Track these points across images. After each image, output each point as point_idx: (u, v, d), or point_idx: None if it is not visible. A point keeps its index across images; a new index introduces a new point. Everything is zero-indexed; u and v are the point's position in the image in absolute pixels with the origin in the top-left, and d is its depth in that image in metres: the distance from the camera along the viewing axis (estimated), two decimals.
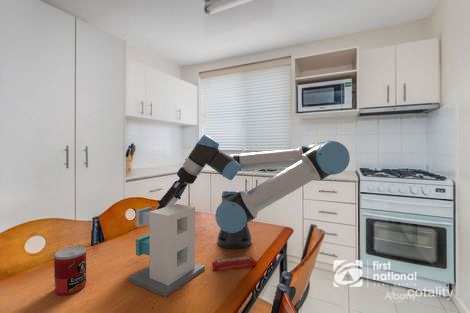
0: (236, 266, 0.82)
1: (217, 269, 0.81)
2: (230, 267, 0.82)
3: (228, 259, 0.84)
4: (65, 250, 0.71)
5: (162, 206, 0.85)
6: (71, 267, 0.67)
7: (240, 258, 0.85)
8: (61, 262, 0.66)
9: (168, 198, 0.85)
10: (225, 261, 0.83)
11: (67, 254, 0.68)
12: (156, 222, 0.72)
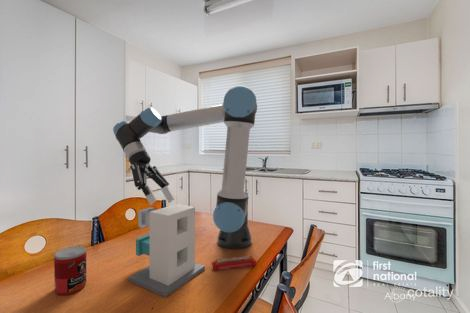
0: (236, 266, 0.83)
1: (217, 269, 0.81)
2: (230, 267, 0.82)
3: (228, 259, 0.84)
4: (65, 250, 0.71)
5: (142, 185, 0.83)
6: (71, 267, 0.67)
7: (240, 258, 0.85)
8: (61, 262, 0.66)
9: (137, 176, 0.83)
10: (225, 261, 0.83)
11: (67, 254, 0.68)
12: (156, 222, 0.72)
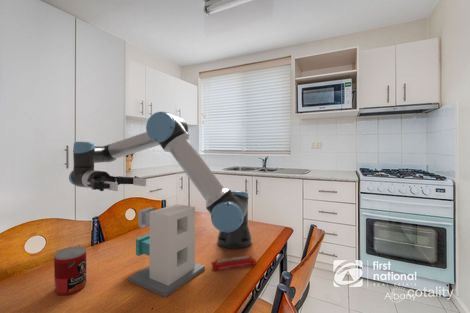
0: (236, 265, 0.83)
1: (217, 269, 0.81)
2: (230, 267, 0.82)
3: (228, 259, 0.84)
4: (65, 250, 0.71)
5: (100, 184, 0.83)
6: (71, 267, 0.67)
7: (240, 257, 0.85)
8: (61, 262, 0.66)
9: (92, 182, 0.84)
10: (224, 261, 0.83)
11: (67, 254, 0.68)
12: (156, 222, 0.72)
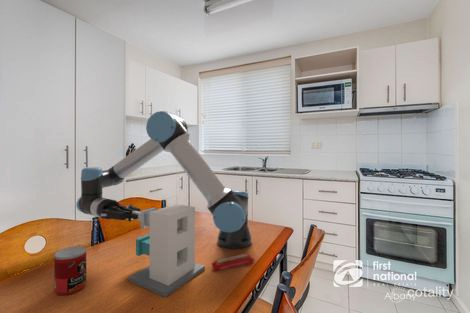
0: (236, 264, 0.84)
1: (218, 269, 0.81)
2: (230, 266, 0.83)
3: (227, 258, 0.84)
4: (65, 250, 0.71)
5: (128, 214, 0.84)
6: (71, 267, 0.67)
7: (238, 256, 0.86)
8: (61, 262, 0.66)
9: (116, 214, 0.84)
10: (224, 260, 0.83)
11: (67, 254, 0.68)
12: (156, 222, 0.72)
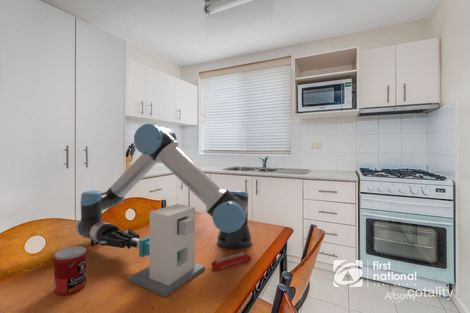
0: (234, 263, 0.85)
1: (218, 268, 0.81)
2: (229, 265, 0.83)
3: (226, 257, 0.85)
4: (65, 250, 0.71)
5: (127, 242, 0.85)
6: (71, 267, 0.67)
7: (236, 255, 0.87)
8: (61, 262, 0.66)
9: (115, 241, 0.84)
10: (223, 259, 0.84)
11: (67, 254, 0.68)
12: (156, 222, 0.72)
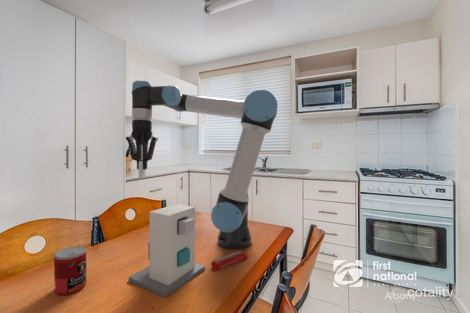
0: (233, 262, 0.86)
1: (218, 268, 0.81)
2: (228, 264, 0.84)
3: (224, 257, 0.86)
4: (65, 250, 0.71)
5: None
6: (71, 267, 0.67)
7: (234, 253, 0.88)
8: (61, 262, 0.66)
9: None
10: (223, 259, 0.84)
11: (67, 254, 0.68)
12: (156, 222, 0.72)
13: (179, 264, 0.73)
